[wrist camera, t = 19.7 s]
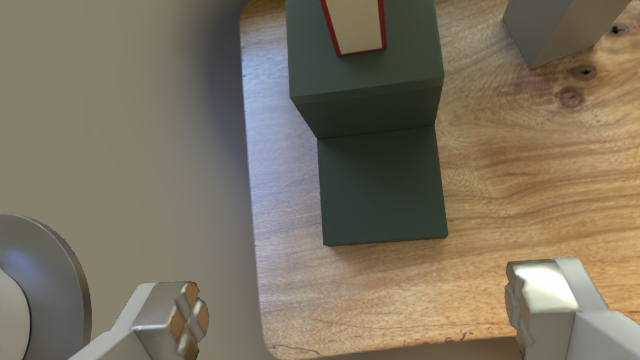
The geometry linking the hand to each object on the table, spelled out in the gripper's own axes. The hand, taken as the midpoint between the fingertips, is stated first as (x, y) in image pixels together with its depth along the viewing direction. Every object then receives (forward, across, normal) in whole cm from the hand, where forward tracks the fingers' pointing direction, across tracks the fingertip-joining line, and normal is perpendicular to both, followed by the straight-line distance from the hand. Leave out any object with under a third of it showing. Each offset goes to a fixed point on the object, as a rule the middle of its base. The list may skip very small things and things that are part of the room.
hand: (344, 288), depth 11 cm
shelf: (+35, 0, +12) cm, 37 cm away
